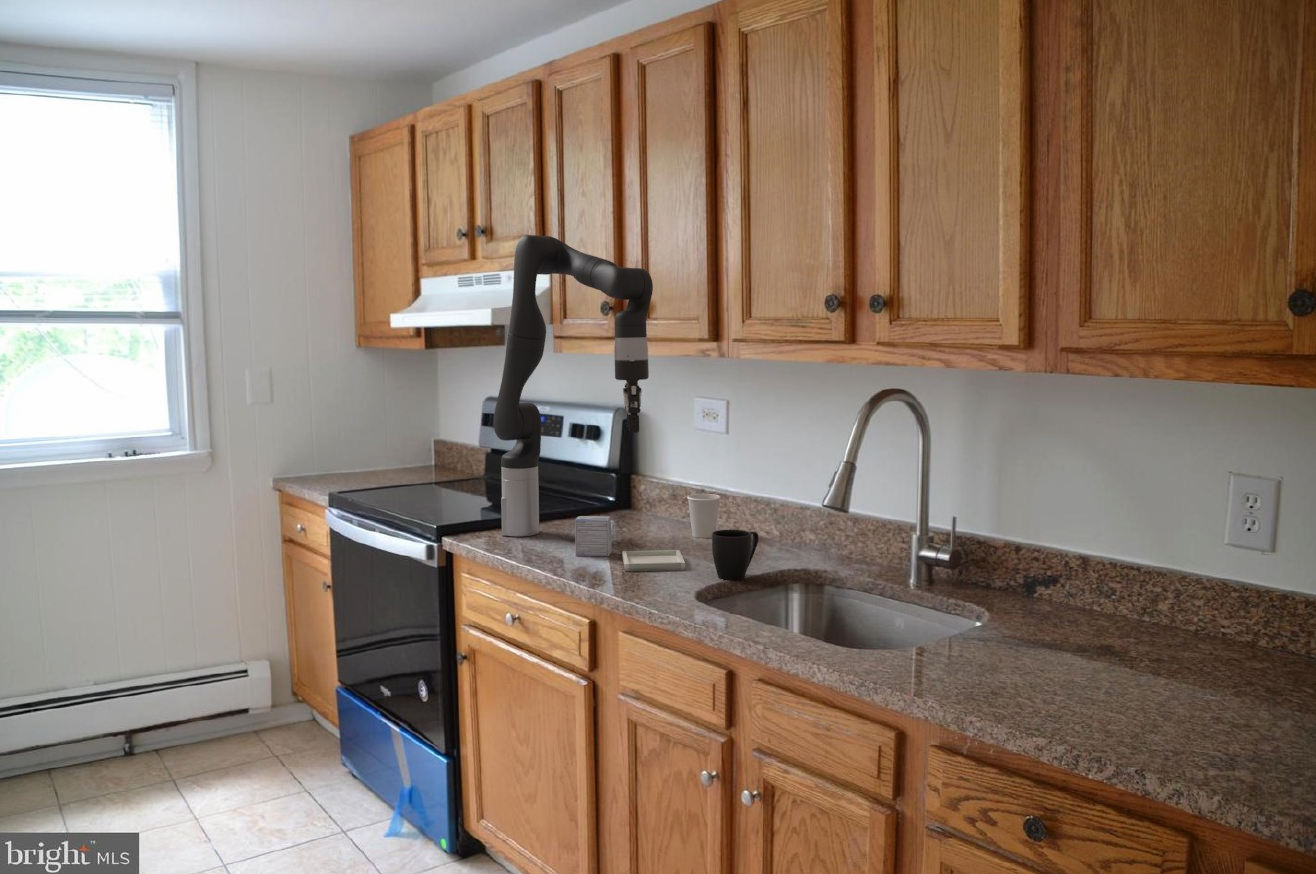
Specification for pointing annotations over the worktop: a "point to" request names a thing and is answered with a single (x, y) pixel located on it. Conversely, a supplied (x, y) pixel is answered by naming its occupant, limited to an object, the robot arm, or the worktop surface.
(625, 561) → the tray
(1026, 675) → the worktop surface
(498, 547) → the worktop surface
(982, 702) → the worktop surface
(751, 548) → the mug
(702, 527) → the dixie cup
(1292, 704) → the worktop surface
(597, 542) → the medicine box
